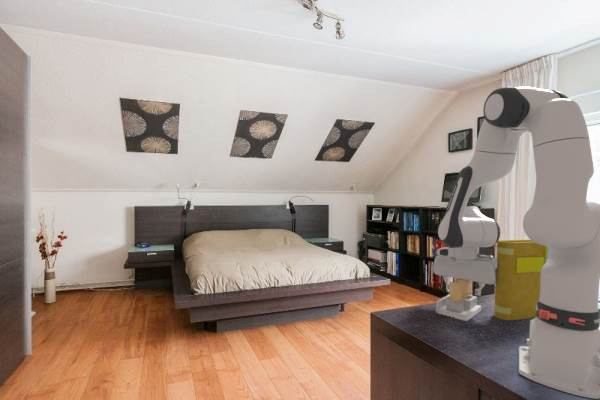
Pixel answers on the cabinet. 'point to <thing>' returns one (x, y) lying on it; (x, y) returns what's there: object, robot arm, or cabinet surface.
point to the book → (518, 278)
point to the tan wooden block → (464, 288)
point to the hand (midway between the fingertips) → (463, 291)
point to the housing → (457, 304)
